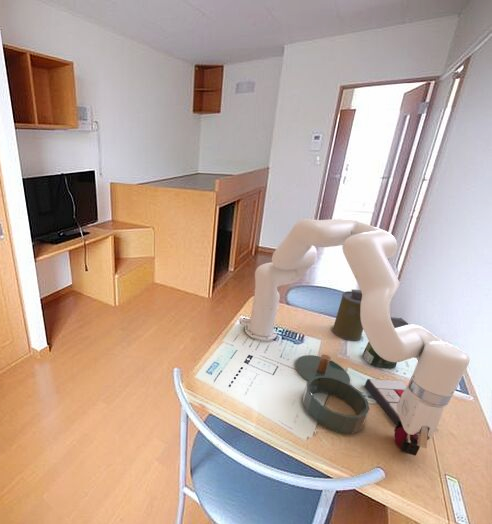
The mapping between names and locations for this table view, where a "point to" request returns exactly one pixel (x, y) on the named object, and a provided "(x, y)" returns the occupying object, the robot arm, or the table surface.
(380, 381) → the calculator
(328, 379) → the pot
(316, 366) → the lid
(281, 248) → the robot arm
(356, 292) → the canister
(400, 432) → the beet
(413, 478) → the table surface
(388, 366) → the coffee jar
